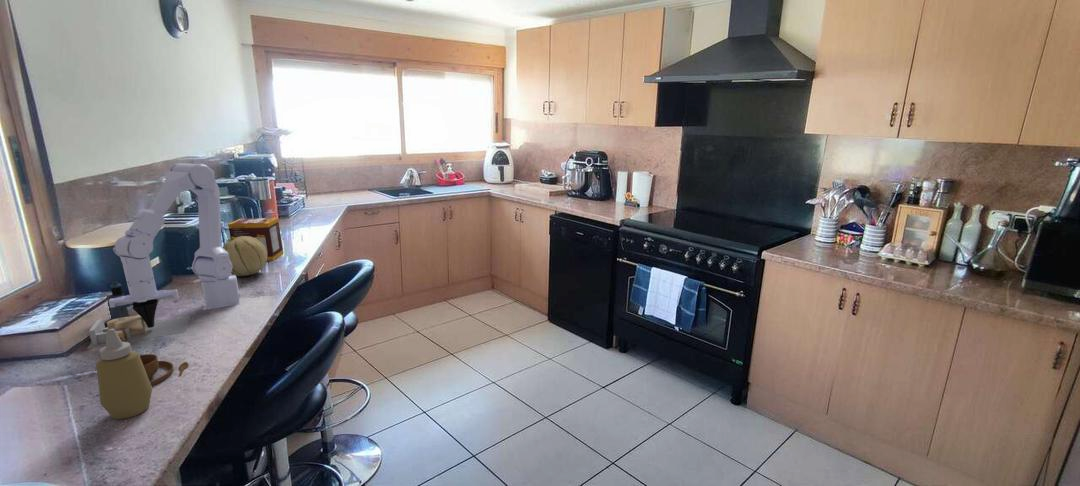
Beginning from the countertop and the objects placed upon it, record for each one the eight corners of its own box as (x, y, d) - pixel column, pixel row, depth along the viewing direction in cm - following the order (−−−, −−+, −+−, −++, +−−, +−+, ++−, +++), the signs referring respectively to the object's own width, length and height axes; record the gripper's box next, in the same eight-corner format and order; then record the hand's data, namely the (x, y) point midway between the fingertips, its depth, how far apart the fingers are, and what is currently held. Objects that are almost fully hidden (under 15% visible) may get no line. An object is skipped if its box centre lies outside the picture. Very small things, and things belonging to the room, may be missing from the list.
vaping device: (123, 323, 140) (113, 283, 136) (108, 321, 141) (98, 282, 137) (132, 319, 142) (123, 280, 139) (117, 318, 143) (108, 279, 140)
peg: (147, 327, 135) (144, 314, 134) (143, 333, 132) (140, 319, 131) (112, 333, 132) (109, 319, 131) (108, 339, 129) (104, 325, 128)
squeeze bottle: (124, 400, 103) (104, 321, 98) (165, 398, 103) (147, 320, 99) (94, 424, 95) (70, 340, 90) (138, 422, 96) (117, 338, 91)
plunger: (128, 335, 131) (126, 327, 130) (124, 341, 127) (122, 333, 127) (115, 337, 129) (113, 329, 129) (112, 343, 126) (110, 335, 125)
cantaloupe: (277, 272, 183) (271, 234, 179) (236, 284, 171) (229, 243, 167) (256, 266, 190) (250, 228, 186) (215, 276, 178) (208, 237, 174)
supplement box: (245, 254, 206) (239, 218, 202) (283, 253, 208) (278, 217, 203) (233, 261, 196) (226, 223, 192) (273, 260, 198) (268, 222, 193)
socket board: (190, 317, 143) (187, 303, 142) (185, 333, 133) (182, 318, 132) (100, 332, 134) (96, 317, 132) (87, 351, 124) (82, 334, 122)
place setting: (81, 403, 103) (74, 378, 101) (114, 360, 120) (108, 338, 119) (181, 385, 110) (176, 361, 108) (198, 346, 127) (194, 326, 126)
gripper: (101, 288, 124) (113, 337, 127) (171, 279, 130) (181, 326, 134) (108, 280, 130) (120, 327, 133) (175, 272, 136) (184, 316, 140)
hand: (151, 326), depth 134 cm, fingers closed
